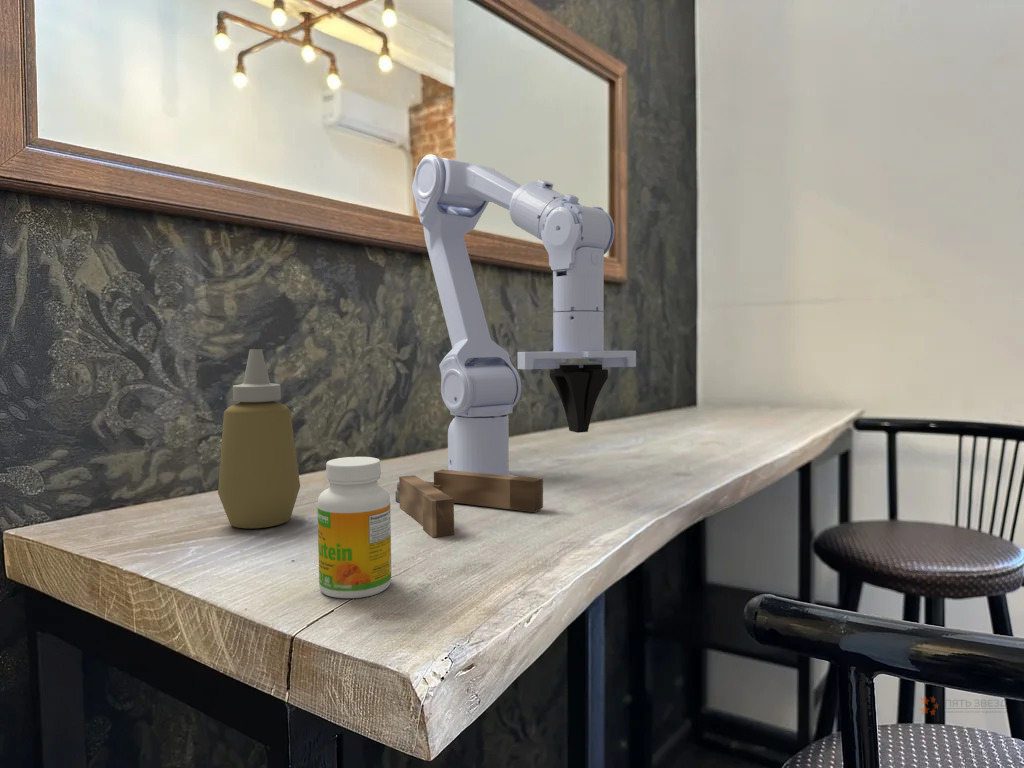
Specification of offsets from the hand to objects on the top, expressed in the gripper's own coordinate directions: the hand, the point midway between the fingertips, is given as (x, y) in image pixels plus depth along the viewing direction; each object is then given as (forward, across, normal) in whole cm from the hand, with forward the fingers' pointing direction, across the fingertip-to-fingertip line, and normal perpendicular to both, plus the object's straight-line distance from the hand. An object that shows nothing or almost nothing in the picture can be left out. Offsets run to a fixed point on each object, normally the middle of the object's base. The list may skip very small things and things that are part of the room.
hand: (578, 431), depth 78 cm
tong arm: (+8, -12, +5) cm, 15 cm away
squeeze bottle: (+8, -34, +7) cm, 36 cm away
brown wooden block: (+8, -17, +3) cm, 19 cm away
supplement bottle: (+9, -29, -16) cm, 34 cm away
